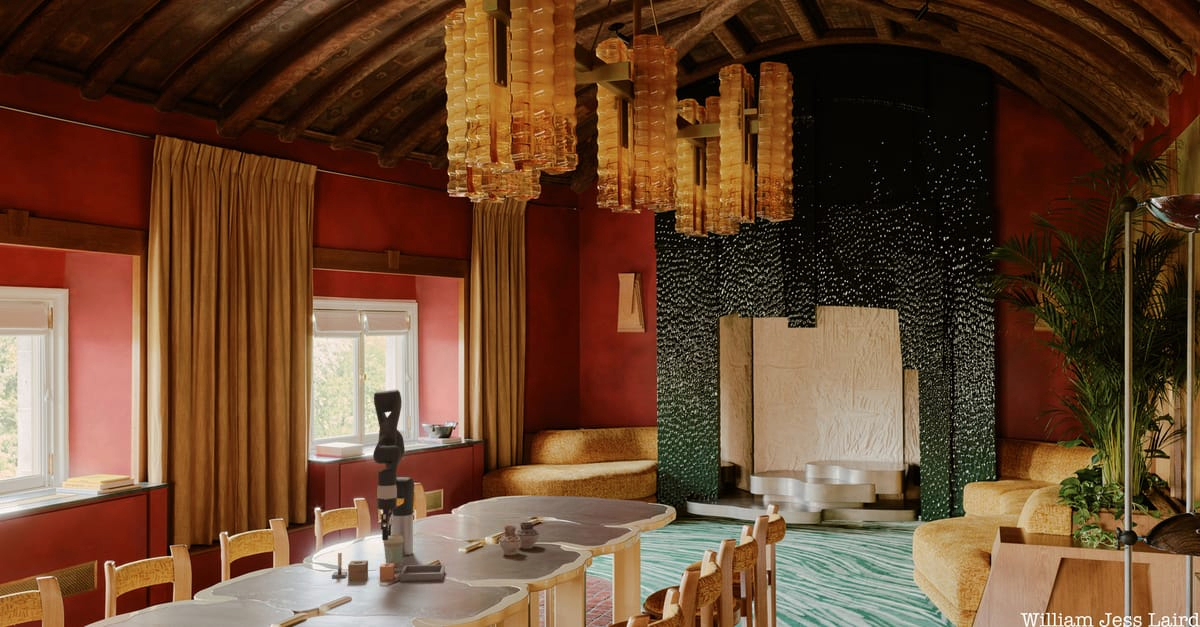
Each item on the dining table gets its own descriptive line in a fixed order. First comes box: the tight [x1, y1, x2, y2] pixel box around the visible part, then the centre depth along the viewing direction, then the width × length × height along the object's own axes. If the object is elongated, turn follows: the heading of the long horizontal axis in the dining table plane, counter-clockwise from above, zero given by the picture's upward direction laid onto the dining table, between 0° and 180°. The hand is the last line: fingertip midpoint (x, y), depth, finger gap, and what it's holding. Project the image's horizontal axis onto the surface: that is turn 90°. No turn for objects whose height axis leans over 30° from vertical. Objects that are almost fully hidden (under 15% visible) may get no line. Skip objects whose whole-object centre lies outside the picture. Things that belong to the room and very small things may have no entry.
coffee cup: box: [382, 534, 404, 568], centre depth 380 cm, size 8×9×12 cm
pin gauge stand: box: [331, 552, 348, 579], centre depth 363 cm, size 5×5×9 cm
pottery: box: [498, 521, 540, 556], centre depth 406 cm, size 11×25×12 cm, turn 155°
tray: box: [399, 564, 446, 583], centre depth 361 cm, size 14×16×3 cm
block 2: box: [379, 563, 395, 580], centre depth 361 cm, size 5×5×5 cm
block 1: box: [347, 560, 369, 582], centre depth 359 cm, size 6×6×7 cm
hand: (386, 537), depth 361 cm, fingers open, 8 cm apart
